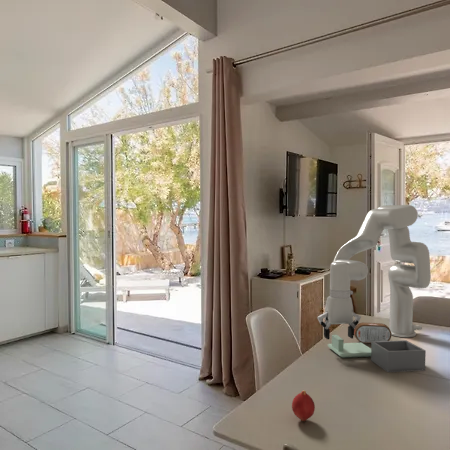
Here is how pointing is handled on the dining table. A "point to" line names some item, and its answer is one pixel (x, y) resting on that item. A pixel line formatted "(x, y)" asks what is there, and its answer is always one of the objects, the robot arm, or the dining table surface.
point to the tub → (398, 356)
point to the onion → (303, 406)
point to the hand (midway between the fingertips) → (338, 337)
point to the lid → (348, 348)
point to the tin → (372, 332)
